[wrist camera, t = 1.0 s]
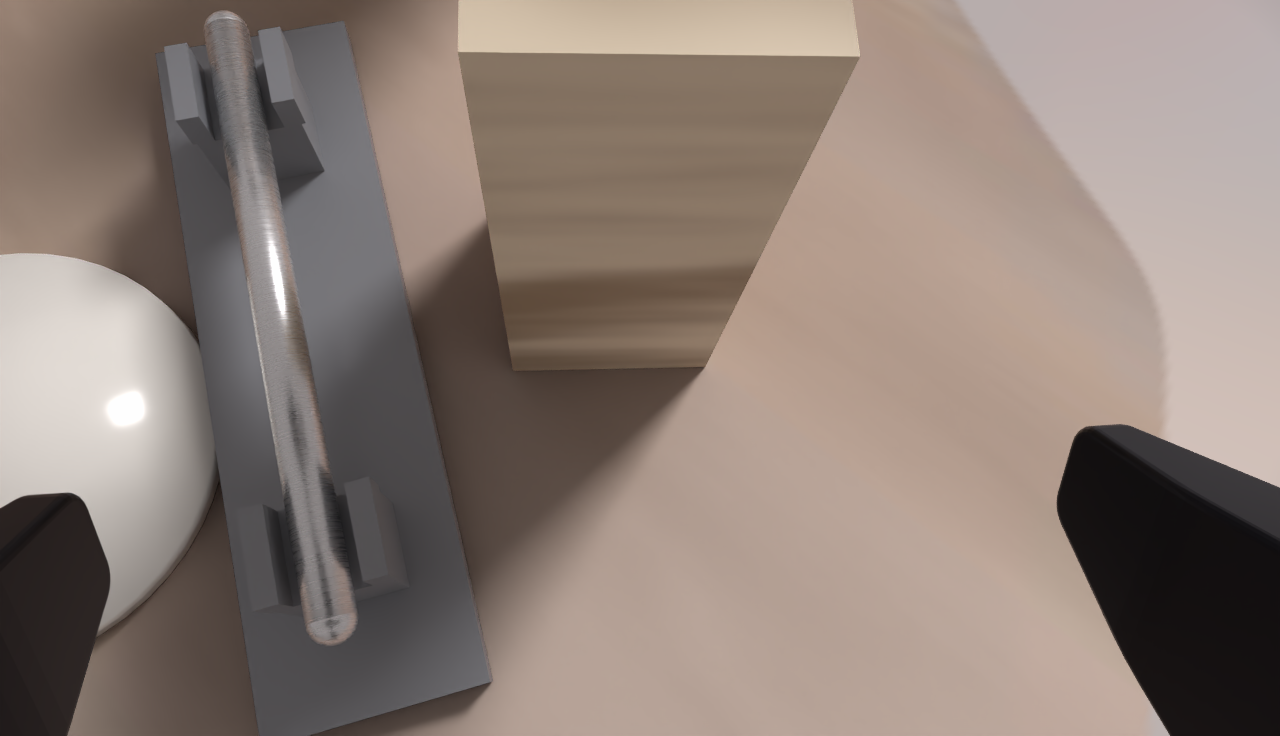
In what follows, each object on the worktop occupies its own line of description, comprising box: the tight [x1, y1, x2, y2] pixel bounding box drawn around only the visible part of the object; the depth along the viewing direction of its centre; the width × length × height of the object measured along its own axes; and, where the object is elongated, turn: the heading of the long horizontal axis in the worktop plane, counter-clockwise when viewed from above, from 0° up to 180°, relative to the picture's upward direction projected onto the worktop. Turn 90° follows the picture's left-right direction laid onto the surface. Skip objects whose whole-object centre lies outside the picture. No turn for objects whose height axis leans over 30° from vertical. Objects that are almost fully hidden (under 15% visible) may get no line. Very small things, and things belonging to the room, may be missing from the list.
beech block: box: [458, 0, 860, 371], centre depth 18 cm, size 5×5×13 cm
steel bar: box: [204, 10, 358, 646], centre depth 20 cm, size 15×1×1 cm, turn 16°
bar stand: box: [155, 21, 493, 736], centre depth 21 cm, size 18×5×4 cm, turn 16°
